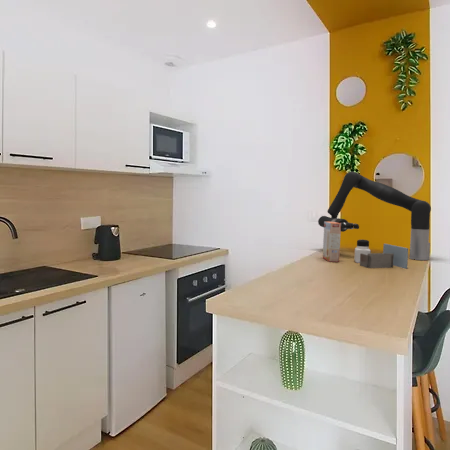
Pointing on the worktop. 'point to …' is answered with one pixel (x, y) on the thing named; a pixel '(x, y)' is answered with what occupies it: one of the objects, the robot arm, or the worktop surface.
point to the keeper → (377, 260)
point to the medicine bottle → (361, 249)
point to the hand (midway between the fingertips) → (354, 227)
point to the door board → (397, 255)
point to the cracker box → (331, 241)
